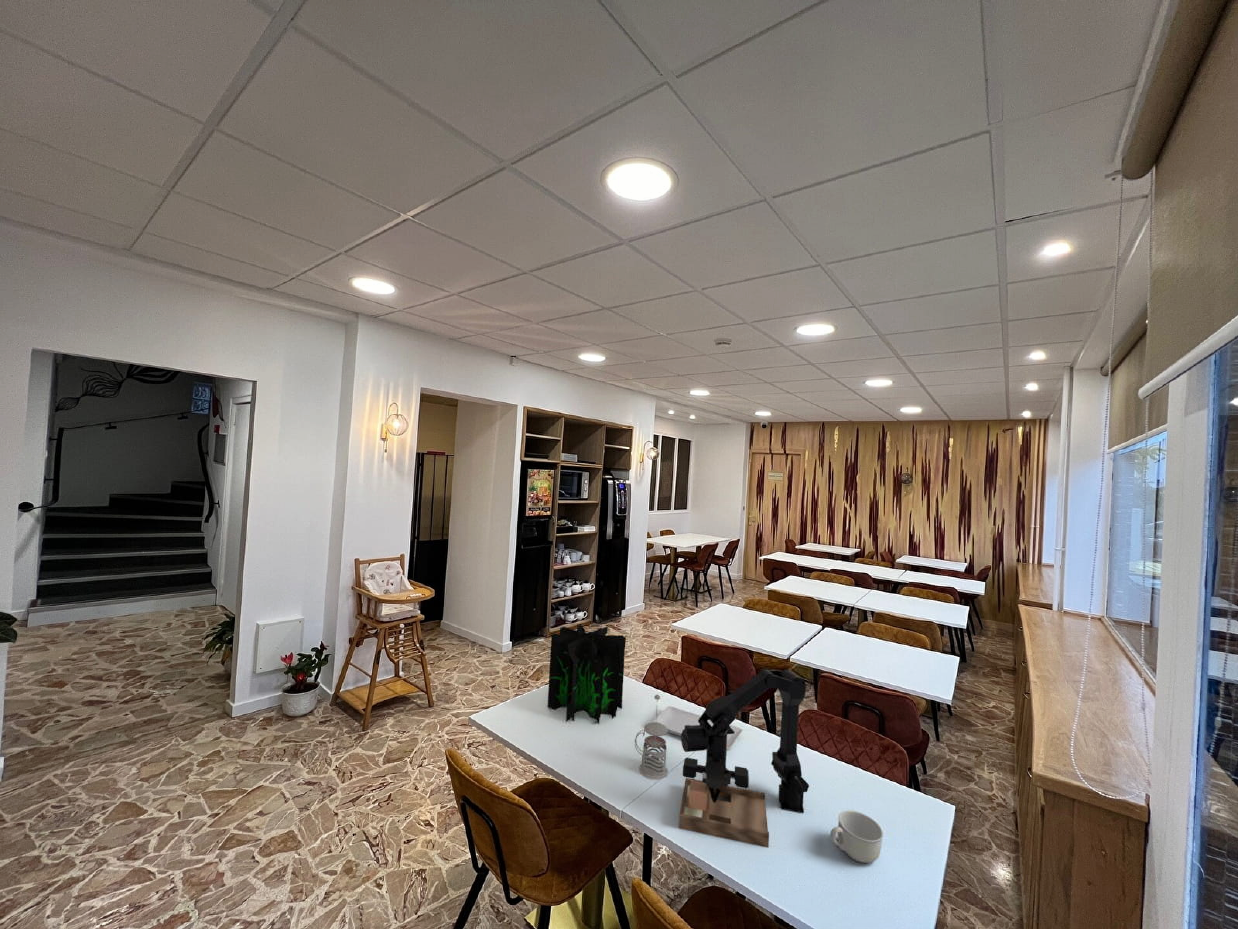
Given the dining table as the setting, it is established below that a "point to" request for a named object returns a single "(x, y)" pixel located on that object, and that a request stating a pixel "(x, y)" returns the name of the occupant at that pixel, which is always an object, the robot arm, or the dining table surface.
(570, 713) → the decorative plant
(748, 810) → the box
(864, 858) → the teacup
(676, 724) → the tray
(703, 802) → the block
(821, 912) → the dining table surface
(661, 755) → the french press
